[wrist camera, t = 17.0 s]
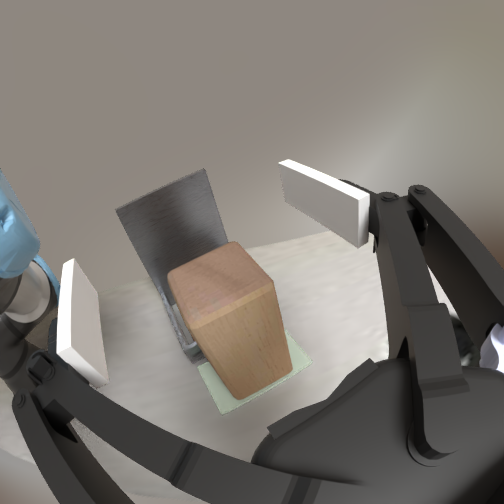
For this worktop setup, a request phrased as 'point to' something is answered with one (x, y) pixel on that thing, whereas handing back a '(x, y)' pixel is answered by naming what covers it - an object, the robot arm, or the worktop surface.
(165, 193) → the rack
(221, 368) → the wooden block
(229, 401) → the mat
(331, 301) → the worktop surface
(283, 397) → the worktop surface
